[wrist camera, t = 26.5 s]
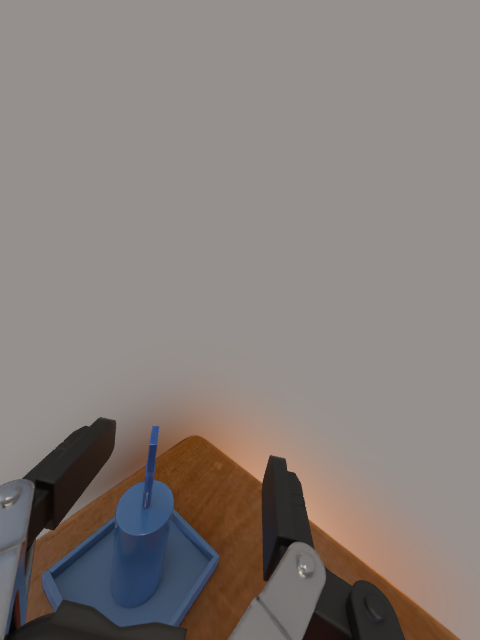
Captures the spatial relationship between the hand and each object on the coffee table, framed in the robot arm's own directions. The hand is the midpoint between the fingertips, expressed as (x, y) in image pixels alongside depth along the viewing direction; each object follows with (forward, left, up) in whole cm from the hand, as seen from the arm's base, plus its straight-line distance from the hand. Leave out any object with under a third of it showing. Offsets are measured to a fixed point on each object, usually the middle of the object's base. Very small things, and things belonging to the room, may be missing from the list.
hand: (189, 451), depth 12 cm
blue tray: (-6, +9, -30) cm, 32 cm away
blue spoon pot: (-6, +9, -29) cm, 31 cm away
